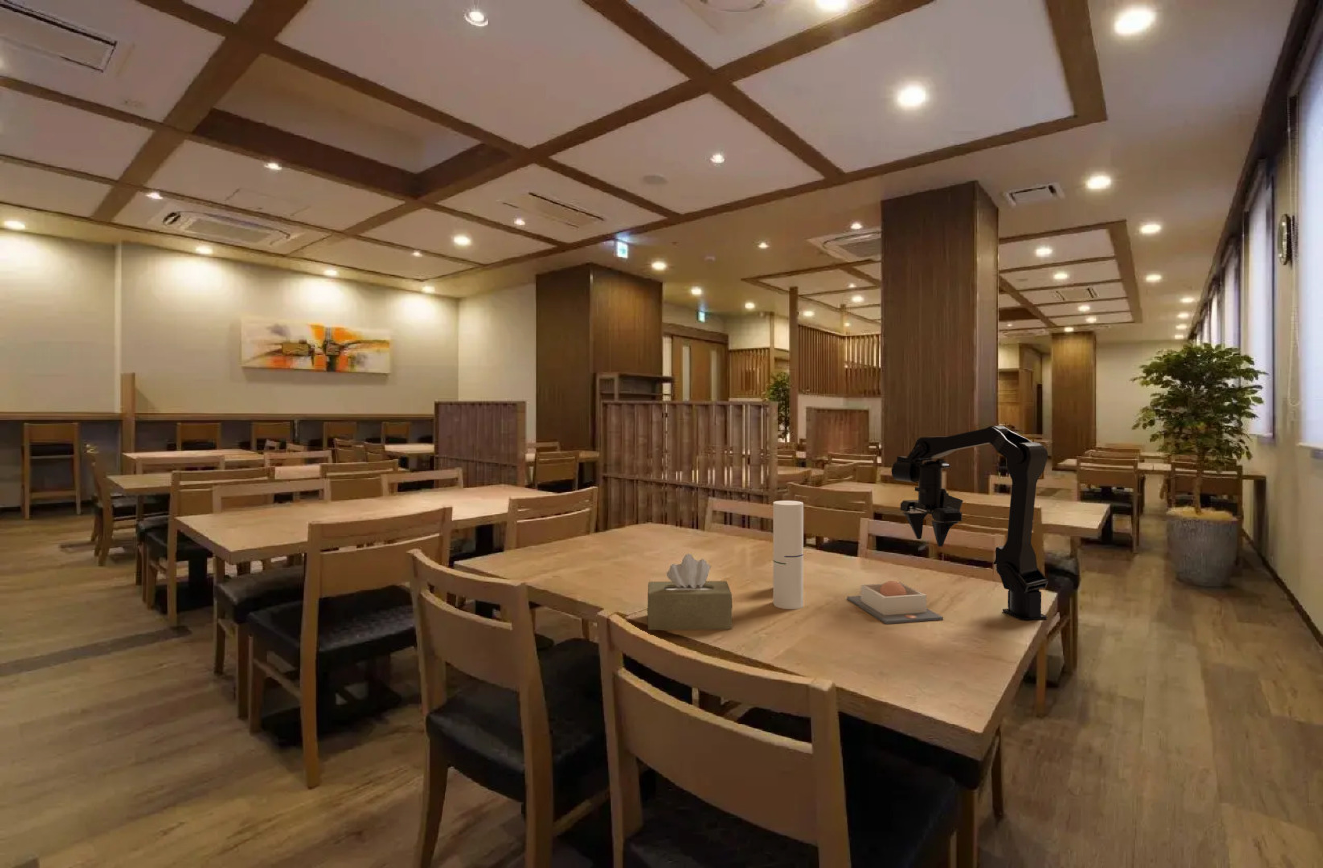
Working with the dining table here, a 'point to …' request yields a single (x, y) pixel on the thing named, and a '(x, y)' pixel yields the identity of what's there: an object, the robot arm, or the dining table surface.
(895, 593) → the terracotta ball
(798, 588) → the cylindrical container
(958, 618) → the dining table surface
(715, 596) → the tissue box
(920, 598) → the tray on grey plate
